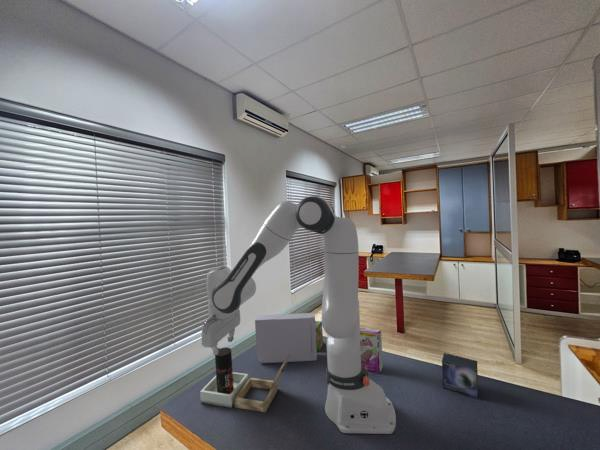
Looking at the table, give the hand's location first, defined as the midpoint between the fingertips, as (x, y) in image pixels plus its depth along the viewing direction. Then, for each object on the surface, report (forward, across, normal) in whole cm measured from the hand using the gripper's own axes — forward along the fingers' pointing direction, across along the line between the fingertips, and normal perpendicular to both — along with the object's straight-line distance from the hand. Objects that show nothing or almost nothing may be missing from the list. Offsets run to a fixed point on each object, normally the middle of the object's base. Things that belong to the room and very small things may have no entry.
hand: (224, 347), depth 92 cm
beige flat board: (+10, 0, -21) cm, 23 cm away
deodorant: (+17, 0, +1) cm, 17 cm away
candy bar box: (+19, +26, -51) cm, 60 cm away
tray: (+18, 0, +1) cm, 18 cm away
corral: (+18, 0, -12) cm, 22 cm away
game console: (+18, +26, -15) cm, 35 cm away
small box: (+20, +19, -83) cm, 88 cm away
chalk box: (+18, +39, -24) cm, 49 cm away
